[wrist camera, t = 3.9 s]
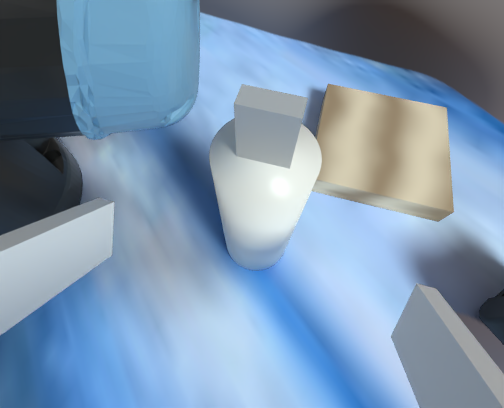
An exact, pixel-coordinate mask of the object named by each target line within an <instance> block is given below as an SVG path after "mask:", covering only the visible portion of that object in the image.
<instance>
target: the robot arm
mask: <svg viewBox="0 0 504 408" xmlns="http://www.w3.org/2000/svg"><path fill="white" fill-rule="evenodd" d="M199 62H200V0H0V335H1V334H3V333H4V332H6V331H7V330H8V329H10V328H11V327H13V326H14V325H15V324H17V323H18V322H20V321H21V320H22V319H24V318H25V317H27V316H28V315H29V314H31V313H32V312H34V311H35V310H36V309H38V308H39V307H41V306H42V305H43V304H45V303H46V302H48V301H49V300H50V299H52V298H53V297H55V296H56V295H57V294H59V293H60V292H61V291H63V290H64V289H66V288H67V287H68V286H70V285H71V284H73V283H74V282H75V281H77V280H78V279H80V278H81V277H82V276H84V275H85V274H87V273H88V272H89V271H91V270H92V269H94V268H95V267H96V266H98V265H99V264H101V263H102V262H103V261H105V260H106V259H108V258H109V257H110V256H112V248H113V225H114V201H110V200H106V199H103V198H96V199H94V200H91V201H89V202H86V203H83V204H81V205H79V203H80V200H81V195H82V175H81V171H80V168H79V166H78V163H77V162H76V160H75V158H74V157H73V156H72V154H71V153H70V152H69V151H68V150H67V149H66V148H65V147H64V146H63V145H62V144H61V143H60V142H59V141H58V140H57V139H56V138H55V137H68V136H82V135H85V136H86V137H87V138H88V139H92V140H97V139H103V138H105V137H106V136H108V135H110V134H111V133H118V132H127V131H136V130H145V129H154V128H162V127H167V126H170V125H173V124H175V123H177V122H179V121H180V120H182V119H183V118H184V117H185V116H186V115H187V114H188V113H189V112H190V110H191V109H192V107H193V105H194V103H195V100H196V97H197V93H198V85H199ZM391 338H392V341H393V343H394V346H395V348H396V350H397V353H398V355H399V358H400V360H401V363H402V365H403V368H404V370H405V372H406V375H407V377H408V380H409V382H410V385H411V387H412V390H413V392H414V395H415V397H416V399H417V402H418V404H419V407H420V408H504V374H503V372H502V371H501V370H500V368H499V367H498V366H497V365H496V363H495V362H494V361H493V360H492V358H491V357H490V356H489V355H488V353H487V352H486V351H485V350H484V348H483V347H482V346H481V344H480V343H479V342H478V341H477V339H476V338H475V337H474V336H473V334H472V333H471V332H470V331H469V329H468V328H467V327H466V326H465V324H464V323H463V322H462V320H461V319H460V318H459V317H458V315H457V314H456V313H455V312H454V310H453V309H452V308H451V307H450V305H449V304H448V303H447V302H446V300H445V299H444V298H443V296H442V295H441V294H440V293H439V291H438V290H437V289H435V288H432V287H428V286H424V285H421V284H417V283H416V285H415V288H414V290H413V292H412V294H411V296H410V298H409V300H408V302H407V304H406V306H405V308H404V310H403V312H402V314H401V317H400V319H399V321H398V323H397V325H396V327H395V329H394V331H393V333H392V335H391Z"/></svg>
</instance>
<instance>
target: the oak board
mask: <svg viewBox="0 0 504 408" xmlns="http://www.w3.org/2000/svg"><path fill="white" fill-rule="evenodd" d="M315 138H316V140H317V142H318V144H319V147H320V150H321V155H322V163H321V169H320V172H319V175H318V177H317V179H316V182H315V184H314V186H313V188H312V191H314V192H318V193H322V194H326V195H330V196H334V197H339V198H343V199H347V200H351V201H355V202H359V203H363V204H367V205H372V206H376V207H380V208H384V209H388V210H392V211H396V212H401V213H405V214H409V215H413V216H417V217H421V218H425V219H430V220H434V221H440V220H442V219H443V218H445V217H447V216H448V215H450V214H451V213H453V212H454V209H453V194H452V180H451V165H450V150H449V136H448V121H447V108H446V107H441V106H436V105H431V104H426V103H421V102H416V101H411V100H406V99H401V98H396V97H391V96H386V95H381V94H376V93H371V92H366V91H361V90H356V89H351V88H346V87H341V86H336V85H332V84H328V86H327V89H326V92H325V95H324V98H323V103H322V107H321V112H320V117H319V121H318V126H317V131H316V136H315Z"/></svg>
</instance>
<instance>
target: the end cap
mask: <svg viewBox="0 0 504 408" xmlns="http://www.w3.org/2000/svg"><path fill="white" fill-rule="evenodd" d="M479 317H480V319H481V320H482V322H483V323H484V324H485V325H486V326H487V327H488V328H489V329H490V330H491V332H492V333H493V334H494V335H495V336H496V337H497V338H498V339H499V340H500V341H501V342H502V344H503V345H504V290H502V291H501V292H500V293H499V294H498V295H497V296H496V297H495V298H489V299H488V300H487V301H486V302H485V303H484V304H483V305H482V307H481V309H480V311H479Z"/></svg>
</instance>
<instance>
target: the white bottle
mask: <svg viewBox="0 0 504 408" xmlns="http://www.w3.org/2000/svg"><path fill="white" fill-rule="evenodd" d="M307 99H308V98H306V97H301V96H296V95H292V94H287V93H282V92H277V91H272V90H268V89H263V88H258V87H253V86H248V85H244V84H242V85H241V88H240V90H239V93H238V95H237V98H236V100H235V102H234V115H235V118H234V119H232V120H231V121H229V122H228V123H226V124H225V125H224V126H223V127H222V128H221V129H220V130H219V131H218V132H217V134H216V135H215V137H214V139H213V141H212V143H211V146H210V152H209V160H210V166H211V171H212V176H213V181H214V186H215V191H216V196H217V201H218V206H219V211H220V216H221V221H222V226H223V231H224V235H225V240H226V245H227V250H228V252H229V255H230V256H231V258H232V259H233V260H234V261H235V262H236V263H237V264H238V265H239V266H241V267H243V268H245V269H248V270H254V271H259V270H265V269H268V268H270V267H272V266H273V265H275V264H276V263H277V262H278V261H279V260H280V259H281V257H282V256H283V254H284V251H285V249H286V247H287V245H288V242H289V240H290V238H291V236H292V233H293V231H294V229H295V227H296V224H297V222H298V220H299V218H300V215H301V213H302V211H303V209H304V206H305V204H306V202H307V200H308V197H309V195H310V193H311V191H312V188H313V186H314V184H315V182H316V179H317V177H318V175H319V172H320V169H321V163H322V155H321V150H320V147H319V144H318V142H317V140H316V138H315V137H314V135H313V134H312V133H311V132H310V131H309V130H308V128H306V127H305V126H304V125H303V124H301V123H302V120H303V116H304V112H305V107H306V103H307Z"/></svg>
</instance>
